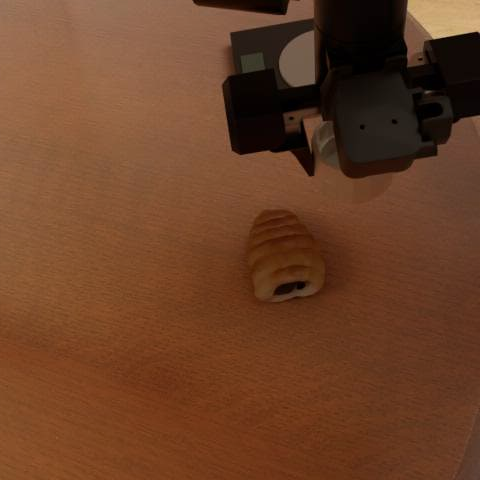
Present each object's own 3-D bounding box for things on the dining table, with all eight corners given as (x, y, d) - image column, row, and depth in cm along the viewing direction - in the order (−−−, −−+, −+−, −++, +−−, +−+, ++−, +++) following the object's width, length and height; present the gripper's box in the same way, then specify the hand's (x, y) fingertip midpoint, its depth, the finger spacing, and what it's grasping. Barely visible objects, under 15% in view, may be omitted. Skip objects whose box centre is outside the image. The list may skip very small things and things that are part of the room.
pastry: (238, 225, 72) (234, 203, 69) (307, 211, 72) (306, 187, 69) (257, 310, 67) (254, 289, 64) (332, 295, 67) (332, 273, 64)
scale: (357, 23, 84) (358, 6, 82) (379, 101, 78) (380, 85, 76) (231, 45, 86) (229, 29, 84) (242, 122, 80) (239, 107, 78)
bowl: (383, 139, 63) (386, 102, 59) (401, 200, 59) (406, 164, 55) (306, 152, 63) (305, 116, 60) (320, 213, 60) (319, 178, 56)
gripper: (227, 133, 44) (250, 267, 57) (558, 76, 42) (504, 230, 55) (209, 8, 50) (233, 155, 63) (496, -47, 48) (460, 117, 61)
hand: (352, 165), depth 60 cm, fingers closed on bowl, 6 cm apart
